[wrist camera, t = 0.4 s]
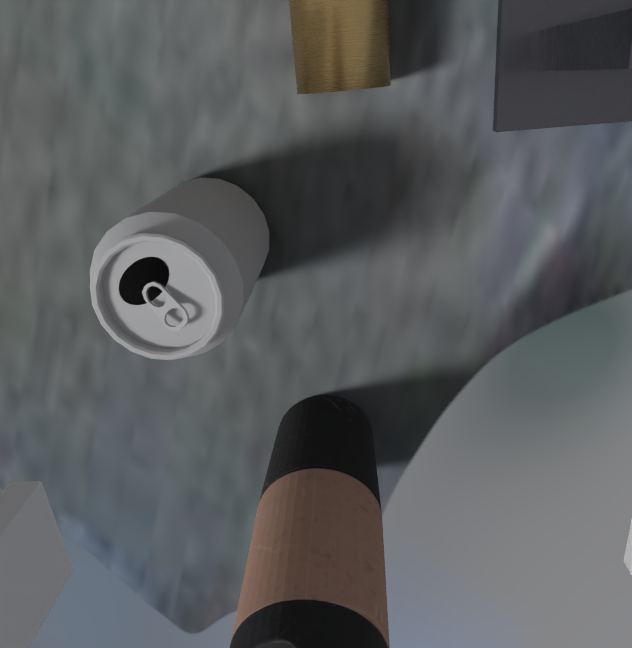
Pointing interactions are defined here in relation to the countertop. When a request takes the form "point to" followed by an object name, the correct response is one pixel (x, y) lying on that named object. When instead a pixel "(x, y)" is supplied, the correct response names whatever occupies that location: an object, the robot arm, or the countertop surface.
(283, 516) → the travel mug
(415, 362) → the countertop surface
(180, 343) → the can
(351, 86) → the tube
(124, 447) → the countertop surface
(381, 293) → the countertop surface
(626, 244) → the countertop surface
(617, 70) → the dark grey pronged rack
